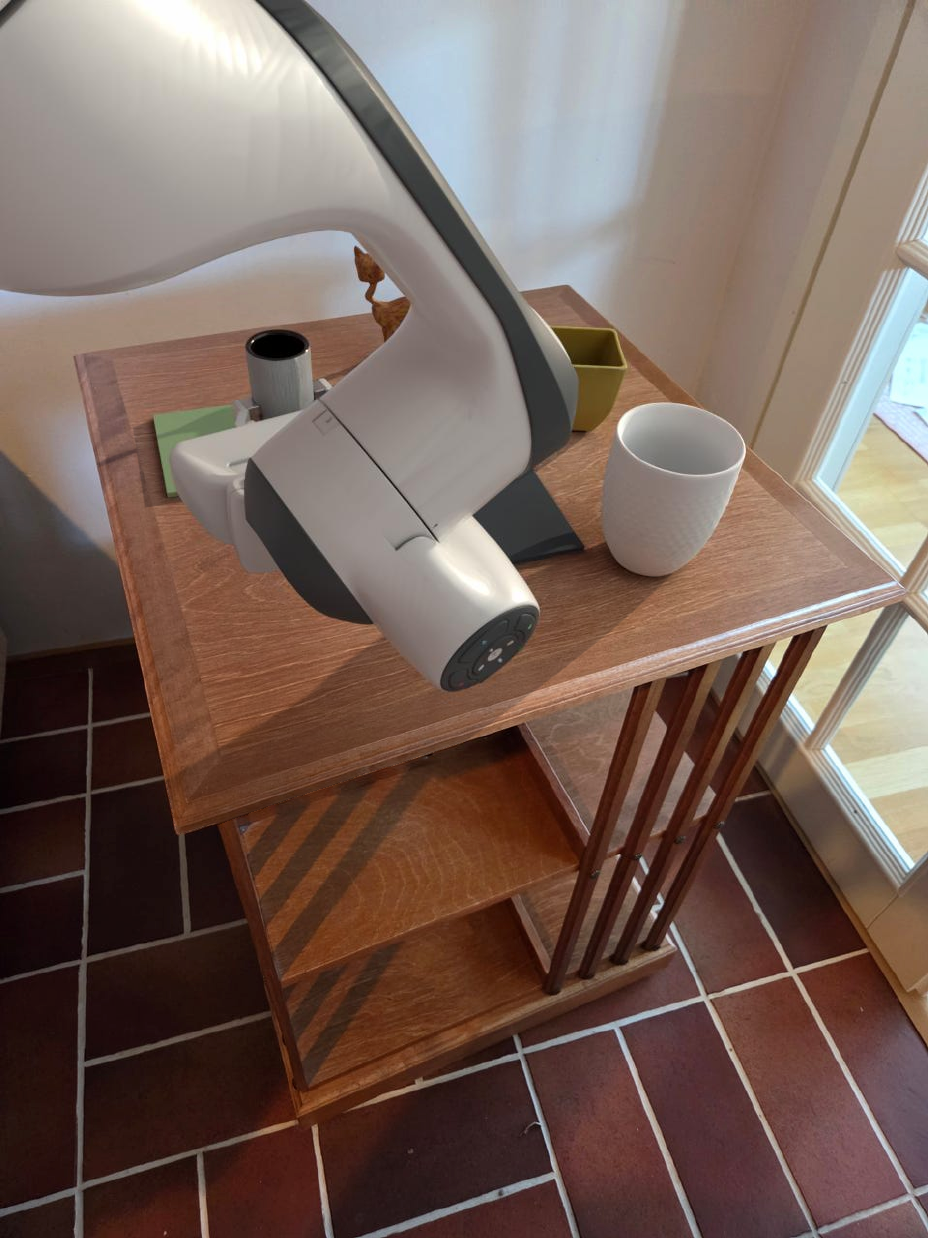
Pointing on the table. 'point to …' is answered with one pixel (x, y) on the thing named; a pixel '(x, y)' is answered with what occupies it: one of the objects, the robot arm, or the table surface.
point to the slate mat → (528, 522)
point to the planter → (279, 372)
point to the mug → (667, 484)
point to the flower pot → (593, 371)
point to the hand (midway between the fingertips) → (278, 397)
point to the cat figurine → (383, 312)
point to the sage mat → (188, 432)
